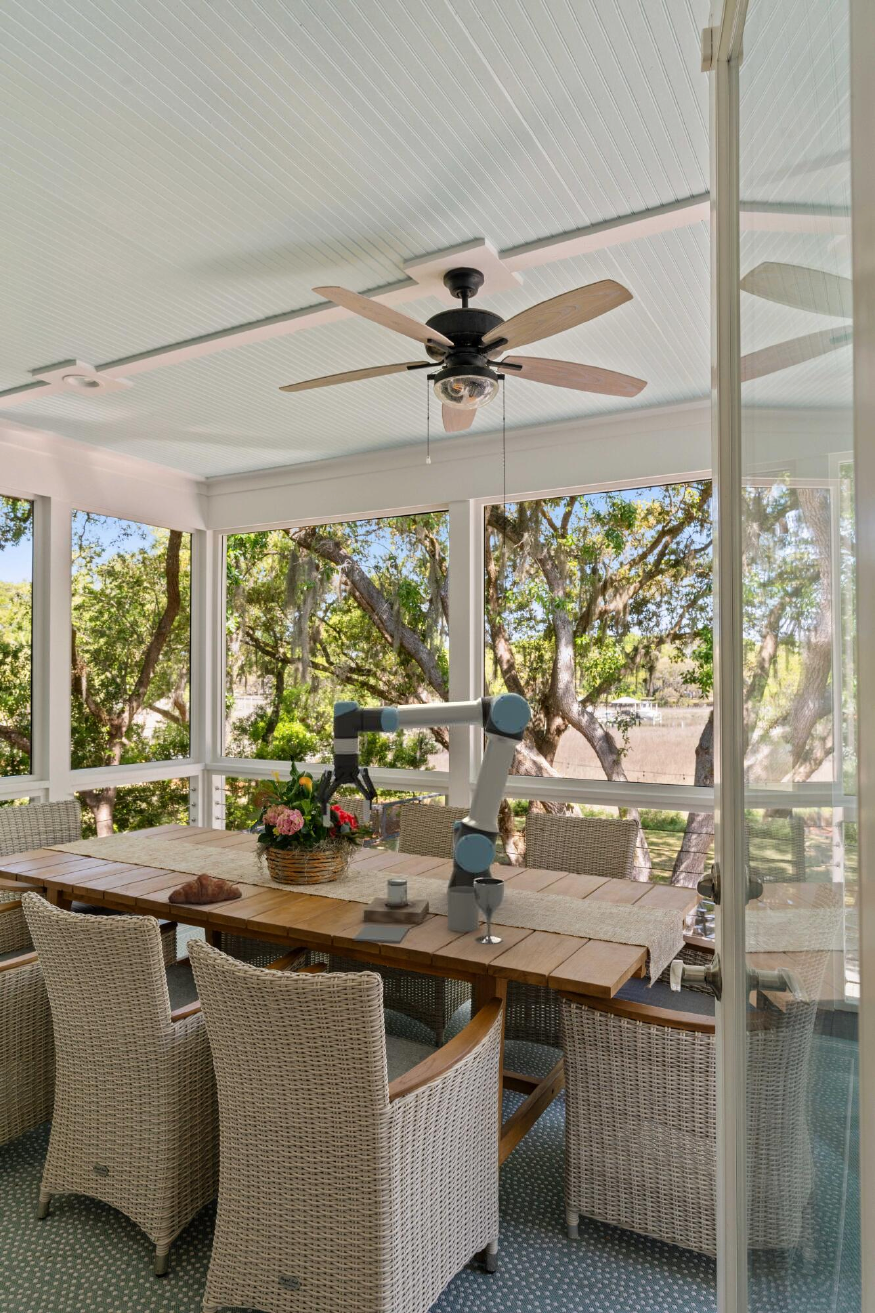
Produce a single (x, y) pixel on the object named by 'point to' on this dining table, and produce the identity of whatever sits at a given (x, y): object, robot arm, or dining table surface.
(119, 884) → the dining table surface
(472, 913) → the cup
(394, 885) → the plug
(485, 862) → the robot arm
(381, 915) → the block
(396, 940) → the mat
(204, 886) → the pastry
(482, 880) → the wine glass
